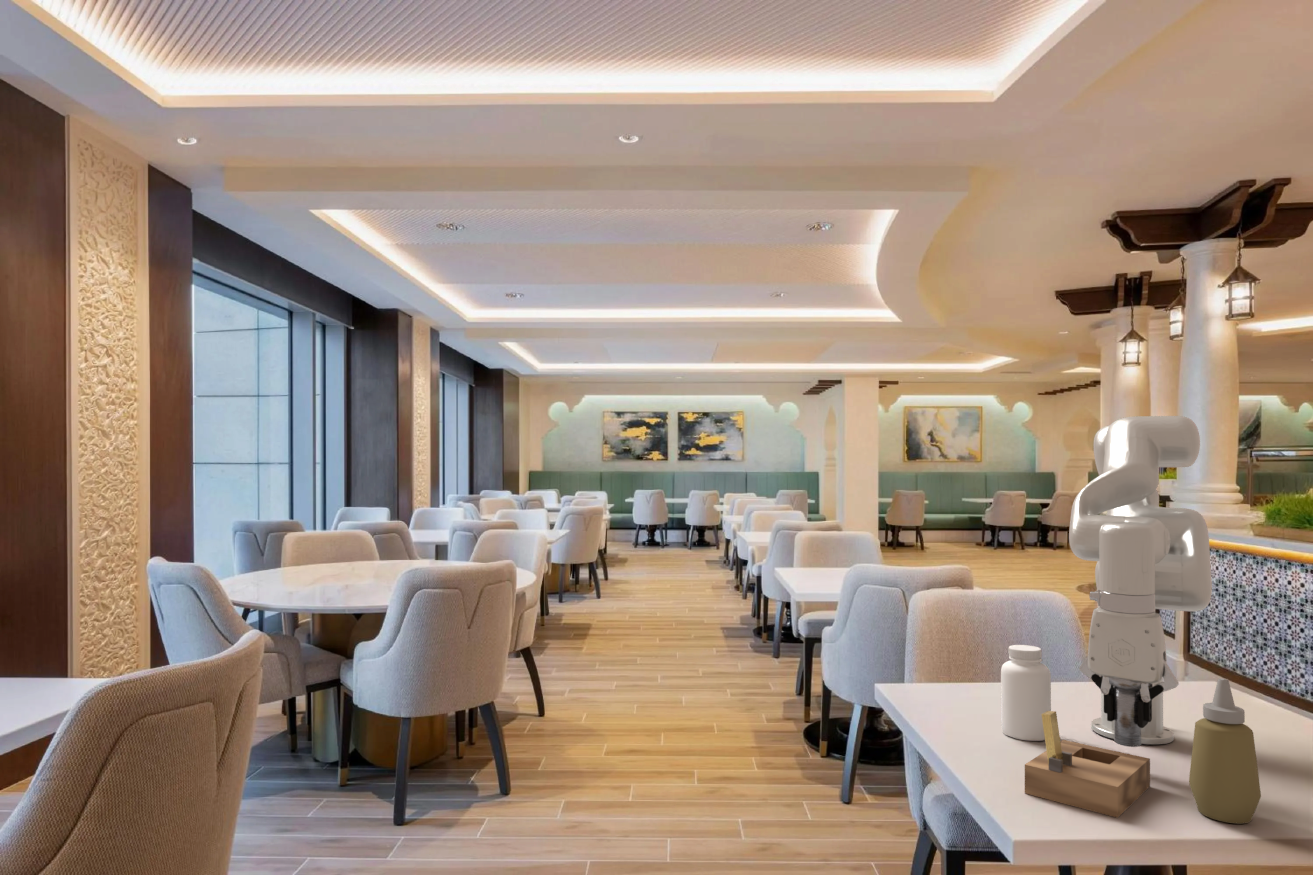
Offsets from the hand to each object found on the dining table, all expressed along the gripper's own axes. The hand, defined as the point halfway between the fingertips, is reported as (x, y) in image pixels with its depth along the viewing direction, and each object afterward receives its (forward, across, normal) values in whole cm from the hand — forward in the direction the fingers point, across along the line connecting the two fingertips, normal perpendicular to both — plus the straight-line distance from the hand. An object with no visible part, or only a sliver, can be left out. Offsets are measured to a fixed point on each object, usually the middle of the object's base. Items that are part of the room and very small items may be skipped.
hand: (1127, 720), depth 132 cm
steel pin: (+3, 0, 0) cm, 3 cm away
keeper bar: (-1, -4, -19) cm, 19 cm away
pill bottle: (+8, -18, +6) cm, 20 cm away
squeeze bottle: (+7, +14, -11) cm, 19 cm away
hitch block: (+7, -2, -14) cm, 15 cm away
